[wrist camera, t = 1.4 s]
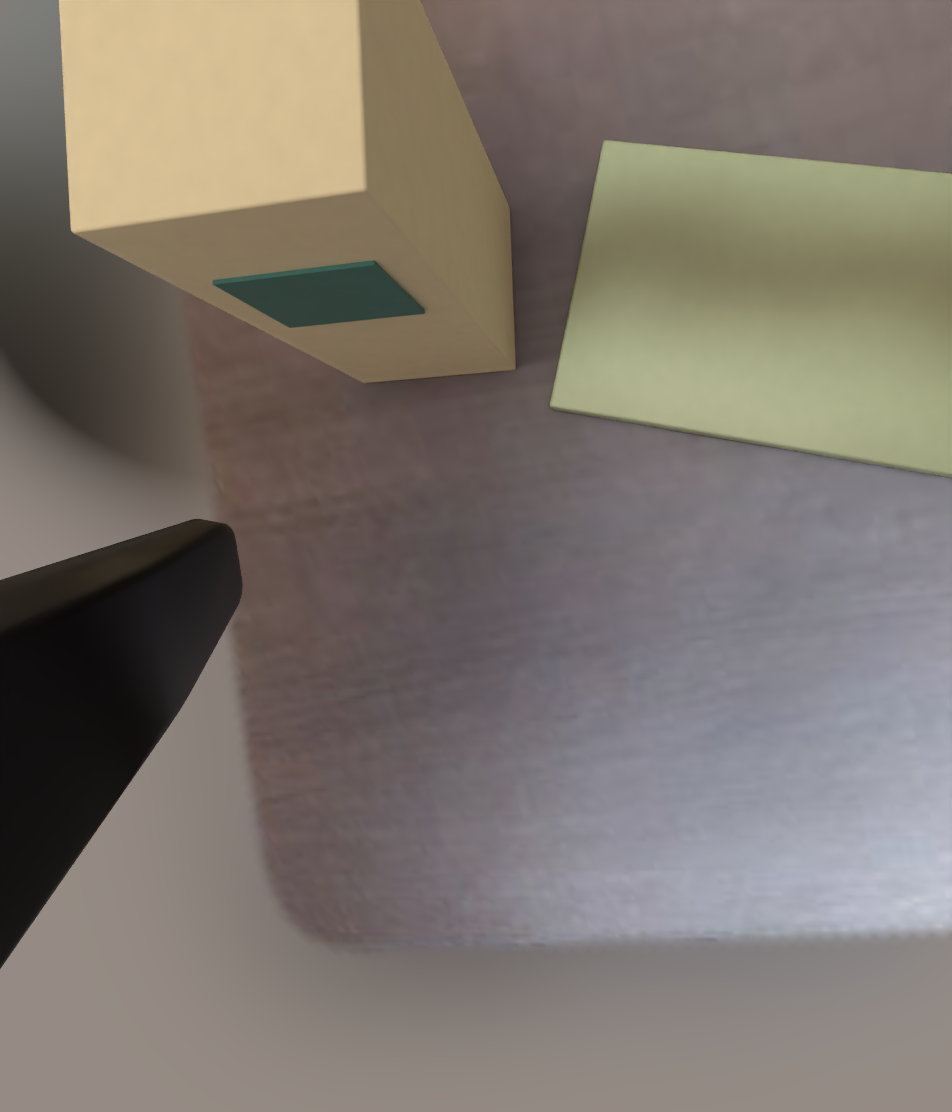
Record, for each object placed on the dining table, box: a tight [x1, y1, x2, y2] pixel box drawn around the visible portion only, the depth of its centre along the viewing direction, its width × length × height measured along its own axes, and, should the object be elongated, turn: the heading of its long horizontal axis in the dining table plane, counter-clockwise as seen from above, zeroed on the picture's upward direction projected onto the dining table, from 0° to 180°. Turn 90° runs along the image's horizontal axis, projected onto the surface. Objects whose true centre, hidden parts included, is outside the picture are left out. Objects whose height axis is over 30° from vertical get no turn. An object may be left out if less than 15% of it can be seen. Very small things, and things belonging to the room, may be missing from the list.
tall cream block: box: [59, 0, 516, 383], centre depth 17 cm, size 5×5×12 cm
